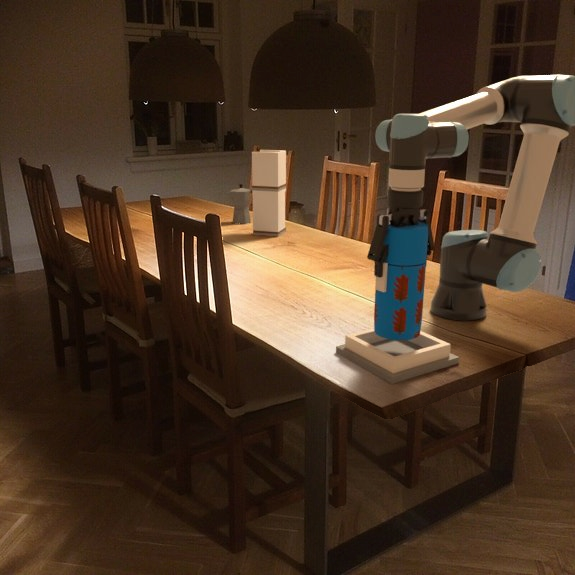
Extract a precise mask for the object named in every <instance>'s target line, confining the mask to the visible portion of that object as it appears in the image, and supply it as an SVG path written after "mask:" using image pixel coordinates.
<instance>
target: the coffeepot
mask: <svg viewBox="0 0 575 575" xmlns="http://www.w3.org/2000/svg"><path fill="white" fill-rule="evenodd" d="M251 193H252V188H244V187H243V184H242V183H239V187H237V188H235V189H231V190H228V191H227V194H228V195H229V196H230V198H231V200H232V202H233V216H232V222H233V223H232V224H234V223H238V224H237V225H246V224H245V223H249V224H251V223H252V219H251V214H250V208H249V204H250V197H251ZM250 206H251V207H253V203H251V204H250ZM250 222H251V223H250ZM239 223H241V224H239Z"/></svg>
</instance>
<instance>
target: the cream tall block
mask: <svg viewBox="0 0 575 575" xmlns="http://www.w3.org/2000/svg"><path fill="white" fill-rule="evenodd" d="M251 184H252V187H251V189H252V204H253V206H252V235H253V236H259V235H266V236H265V237H273V236H276V237H277V238H278V237H281V235H283V234H285V233H286V232H287V227H286V191H287V150H284V149H283V150H280V149H279V150H277V149H260V150H259V151H252V152H251ZM276 237H275V238H276Z"/></svg>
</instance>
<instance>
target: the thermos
mask: <svg viewBox="0 0 575 575" xmlns="http://www.w3.org/2000/svg"><path fill="white" fill-rule="evenodd" d="M418 223H419V225H409V226H404V227H401V228H398V227H394V226H391V225H389V226H388V231H387V234H386V237H385V241H384V245H388V244H389V252H388V256H387V258H386V260H385V262H386V263H388V267H387V286H386V292H381V291H379V290H376V289H375V288H374V289H375V294H374V312H373V320H374V321H373V326H374V327H373V328H374V332H375V333H376V334H377V335H379V336H380V337H383V338H386V339H391V340H411V339H414V338H417V337H418V336H419V335H420V331H422V330H421V329H422V322H423V312H424V310H423V309H424V308H423V307H424V299H425V298H424V296H425V295H424V294H425V280H426V270H427V269H426V267H427V264H426V257H427V258H428V255H427V243H428V225H426V224H425V223H421V222H418ZM428 244H429V243H428ZM380 257H381V256H380Z"/></svg>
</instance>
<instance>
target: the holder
mask: <svg viewBox="0 0 575 575" xmlns="http://www.w3.org/2000/svg"><path fill="white" fill-rule="evenodd" d="M344 338H345V339H344V342H345V343H344V344H340V345H336V346H335V353H337V354H339V356H342V357H343V358H345V359H347V360H349V361H351V362H352V363H354V364H356V365H358V366H359V367H362V368H363V369H365V370H366V371H368V372H370V373H372V374H373V375H375V376H377V377H379V378H381V380H382V379H383V380H385V381H386V382H388V383H389V384H391V385H393V384H396V383H400V382H403V381H406V380H409V379H412V378H416V377H420V376H423V375H425V374H429V373H431V372H436V371H439V370H442V369H445V368H448V367H451V366H454V365H457V364H459V363H460V357H459V356H458V355H455V354H453V353H451V347H452V346H451V343H450V342H447V341H444V340H442V339H439V338H438V337H435V336H432V335H431V334H429V333H426V332H424V331H422V330H420V335H419V336H418V337H417V338H414V339H411V340H391V339H386V338H383V337H380V336H379V335H377V334H376V333H375V332H374V327H373V328H369V329H365V330H363V331H361V330H360V331H357V332H354V333H350V334H346V335H345V336H344Z"/></svg>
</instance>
